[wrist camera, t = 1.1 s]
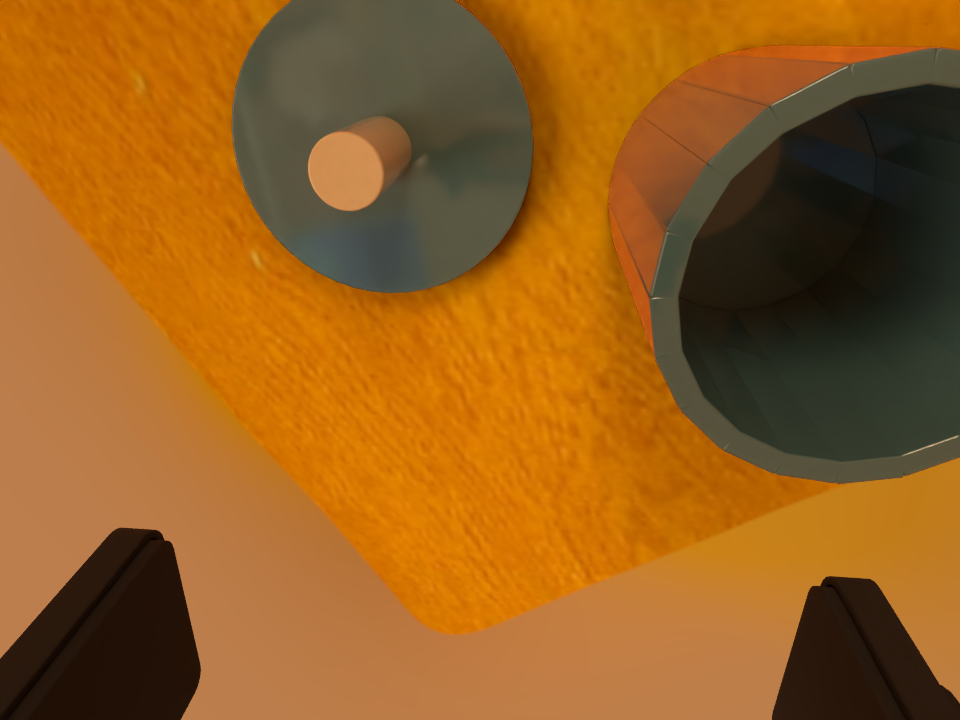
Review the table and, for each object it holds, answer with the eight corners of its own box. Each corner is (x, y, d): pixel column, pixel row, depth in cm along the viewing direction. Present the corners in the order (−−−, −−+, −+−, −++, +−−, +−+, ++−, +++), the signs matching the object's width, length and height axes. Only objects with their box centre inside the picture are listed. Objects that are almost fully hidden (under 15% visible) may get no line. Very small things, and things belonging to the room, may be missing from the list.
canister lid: (238, -43, 24) (146, -69, 18) (557, 0, 24) (561, -13, 18) (247, 263, 29) (176, 316, 23) (511, 301, 29) (503, 364, 23)
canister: (641, 28, 24) (718, 16, 13) (936, 68, 24) (1246, 87, 13) (585, 301, 28) (611, 451, 18) (833, 337, 28) (1003, 510, 18)
